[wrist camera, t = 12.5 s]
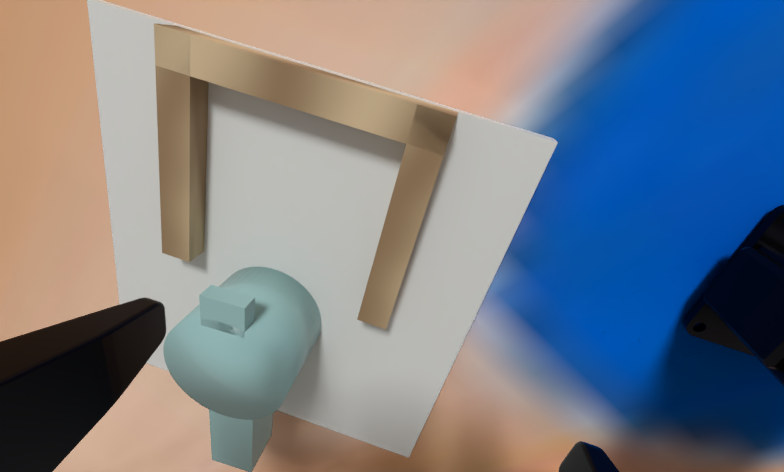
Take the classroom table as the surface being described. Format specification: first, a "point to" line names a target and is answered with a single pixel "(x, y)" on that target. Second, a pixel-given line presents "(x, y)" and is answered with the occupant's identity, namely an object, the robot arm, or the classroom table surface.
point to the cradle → (301, 92)
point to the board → (315, 228)
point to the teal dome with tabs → (243, 356)
